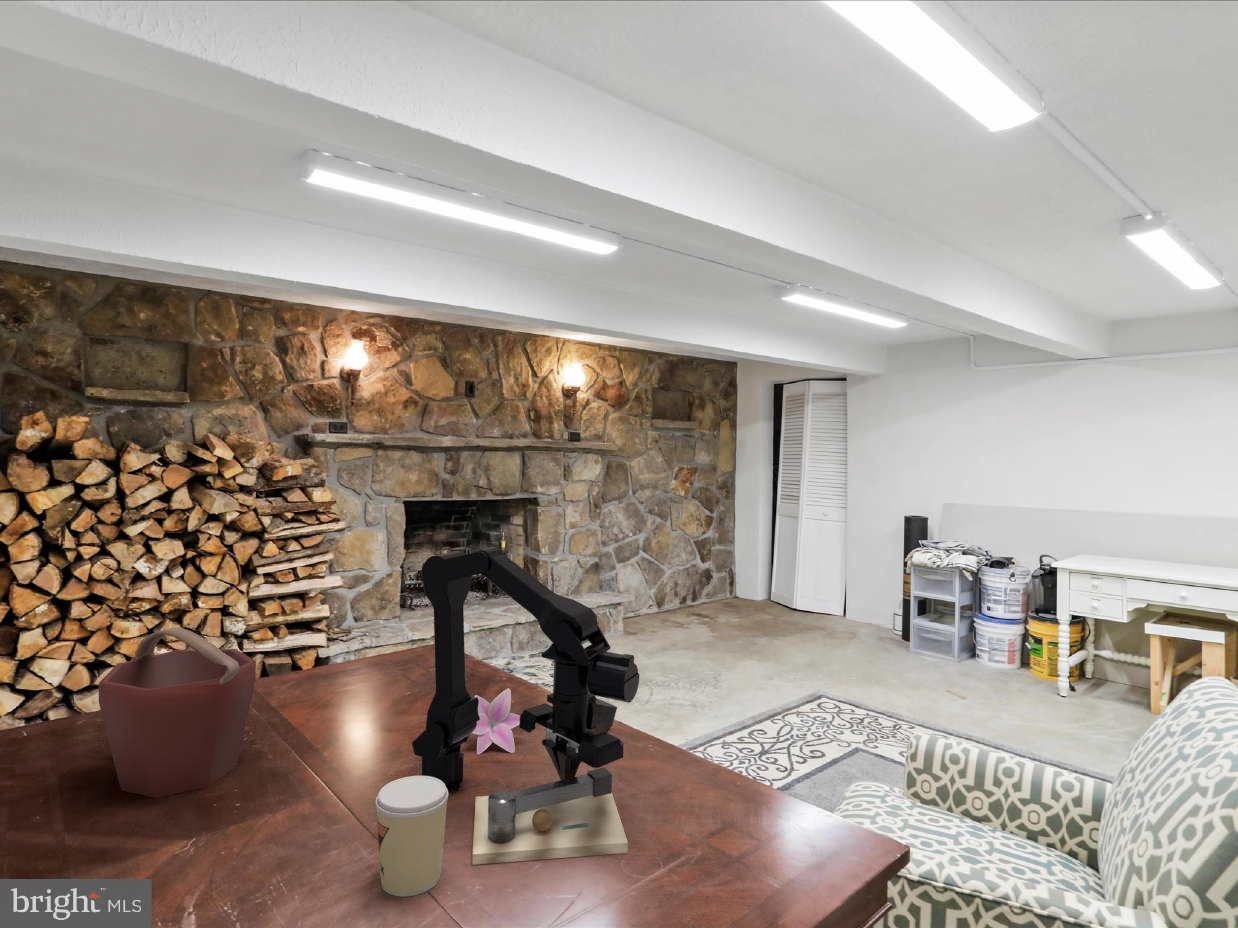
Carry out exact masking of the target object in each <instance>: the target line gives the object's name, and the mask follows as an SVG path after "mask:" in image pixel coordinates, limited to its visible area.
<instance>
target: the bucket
mask: <svg viewBox="0 0 1238 928" xmlns="http://www.w3.org/2000/svg"><path fill="white" fill-rule="evenodd" d="M165 636H169V637H173V638H174V639H177V640H179V641H181V642H183V643H184V644H186V645H187V646H188V647H189V648H190V649H176V650H175V649H174V650H172V651H167V652H163V653H157V654H155V653H154V650H155V649H156V646H157V645H158V643H159V642H160V640H161V639H162V638H164V637H165ZM191 648H192V649H191ZM134 658H135V659H132V660H128V661H124V662H119V663H117V664H116V665H115V666H114V667H112V669H111V670H110V671H109V672H108V673H107V674H106V675H105V676H104V677H103V678H102V679H101V680H100V681H99V682H98V704H99V709H100V711H101V712H100V713H101V717H102V720H103V724H104V728H105V731H106V736H107V740H108V744H109V748H110V753H111V756H112V760H113V764H114V768H115V771H116V772H115V773H116V775H117V776H116V777H117V780H118V784H119V787H120V790H121V791H123V792H127V793H132V794H137V795H141V796H144V797H145V796H146V797H150V798H154V799H156V798H162V797H166V796H171V795H176V794H180V793H184V792H189V791H194V790H198V789H203V788H208V787H210V786H211V785H213V784H214V783H216V782H217V781H218V780H219V779H221V778H222V777H223V776H225V775H226V774H227V773H228V772H230V771H231V770H233V769H235V768H236V767H237V764H238V759H239V756H240V755H239V754H240V751H241V746H242V742H243V737H244V732H245V727H246V723H247V719H248V714H249V711H250V706H251V702H252V696H253V692H254V687H255V683H256V679H257V661H256V660H255V659H253V658H251V657H250V656H249V655H247V654H245V653H243V652H242V651H240V650H238V649H236V648H218V646H217V645H215V644H213V643H212V642H210V641H209V640H206V639H205V638H203V637H202V636H200V635H199V634H197V633H196V632H193V631H191V630H189V629H185V628H183V627H171V628H167V629H162V630H158V631H156V632H153V633H151V634H148V635H147V636H145V637H143V639H141V640H140V642H139V644H138V645H137V648H136V650H135V652H134Z"/></svg>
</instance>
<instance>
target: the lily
mask: <svg viewBox="0 0 1238 928" xmlns="http://www.w3.org/2000/svg"><path fill="white" fill-rule="evenodd" d="M511 692H512V691H511V688H506V689H505V690H503V691H501V692H500V693H499V694H498V695H496V697H495V698H494V699H493V700H492V701H491V702H489V701H487V699H485V698H483V697H481V696H480V695H477V694H475V695H474V697H477V698H478V700H479V704H478V715H479V717H480V720H479V721H477V725H476V728H475V730H474V731H473V732H472V733H471V734H474V735H477V740H476V741H477V743H476V754H477V755H480V754H483V752H484V751H485V750H487V749H488V747H490V746H491V745H492V743H494V744H495V745H496V746H498V747H500V748H501V749H503V750H504V751H506V752H509V753H510V754H513V753H515V752H516V747H515V746H516V745H515V741H514V740H515V739H514V734H513V731H512V729H513V728H515V727H517V726H519V724H520V716H521V714H520V715H519V714H516V713H512V712H511V706H512V704H511V703H512V693H511ZM474 697H473V698H474Z"/></svg>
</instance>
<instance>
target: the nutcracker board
mask: <svg viewBox="0 0 1238 928" xmlns="http://www.w3.org/2000/svg"><path fill="white" fill-rule="evenodd" d="M489 796H490V795H483V796H475V802H474V803H475V805H474V806H475V807H474V823H473V840H472V841H473V843H472V860H471V861H472V862H471V863H472V865H473V866H475V865H486V864H487V865H488V864H489V865H490V864H499V863H512V862H513V863H515V862H525V861H526V862H528V861H538V860H539V861H541V860H551V859H563V858H564V859H565V858H576V857H577V858H578V857H591V856H604V855H606V856H607V855H616V854H619V855H620V854H627V853H629V852H628V851H629V842H628V839H627V836H626V833H625V829H624V826H623V824H622V821H621V817H620V814H619V812H618V808H617V805H616V801H615V798H614V795H613V793H610V794H606V795H602V796H598V797H593V796H592V795H591V796H587V797H583V798H579V799H575V800H571V801H567V802H563V803H559V804H555V805H551V806H547V807H543V808H539V809H535V810H531V811H527V812H523V813H519V814H516V829H515V837H514V838H513V839H512V840H510V841H507V842H503V843H497V842H493V841H491V840H489V839H488V797H489Z"/></svg>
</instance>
